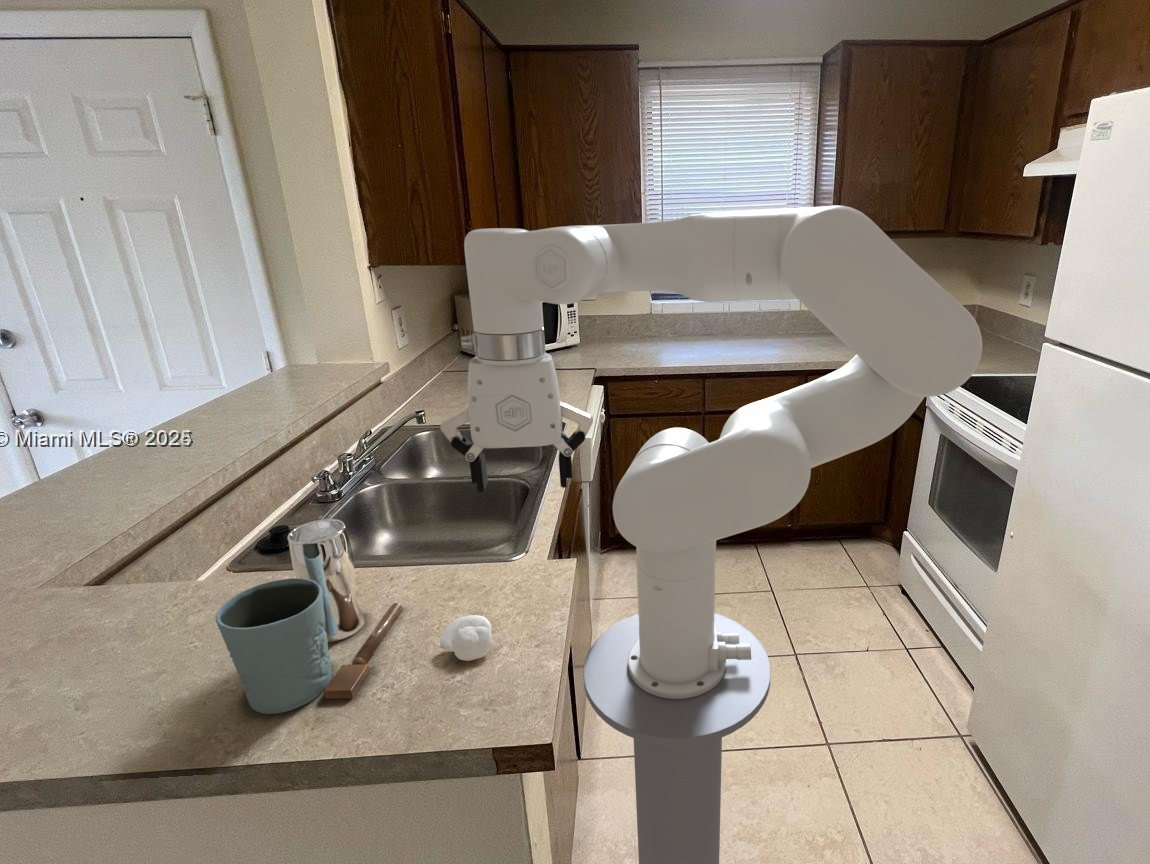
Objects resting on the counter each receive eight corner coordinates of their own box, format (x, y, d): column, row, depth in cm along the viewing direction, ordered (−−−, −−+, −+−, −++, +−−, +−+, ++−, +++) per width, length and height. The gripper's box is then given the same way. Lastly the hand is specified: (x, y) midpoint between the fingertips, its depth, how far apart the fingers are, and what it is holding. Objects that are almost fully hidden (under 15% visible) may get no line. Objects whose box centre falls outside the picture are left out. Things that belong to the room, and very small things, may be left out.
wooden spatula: (387, 610, 87) (385, 600, 86) (410, 610, 87) (408, 600, 86) (325, 699, 71) (322, 688, 70) (353, 698, 71) (350, 687, 70)
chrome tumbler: (304, 628, 83) (278, 530, 78) (357, 606, 88) (336, 513, 83) (320, 651, 79) (294, 550, 74) (375, 627, 83) (355, 530, 78)
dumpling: (500, 638, 81) (500, 618, 79) (484, 671, 77) (483, 650, 75) (451, 626, 82) (449, 606, 80) (431, 658, 77) (429, 637, 75)
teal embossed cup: (223, 702, 71) (194, 615, 66) (304, 648, 79) (283, 569, 75) (281, 730, 67) (254, 639, 63) (360, 670, 75) (340, 587, 71)
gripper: (421, 355, 63) (443, 503, 69) (589, 350, 65) (596, 494, 71) (437, 341, 70) (456, 477, 76) (588, 337, 72) (595, 469, 78)
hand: (524, 485), depth 74 cm, fingers open, 9 cm apart
